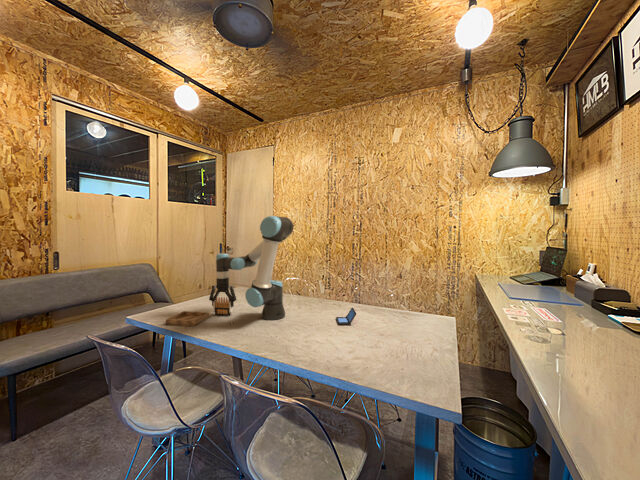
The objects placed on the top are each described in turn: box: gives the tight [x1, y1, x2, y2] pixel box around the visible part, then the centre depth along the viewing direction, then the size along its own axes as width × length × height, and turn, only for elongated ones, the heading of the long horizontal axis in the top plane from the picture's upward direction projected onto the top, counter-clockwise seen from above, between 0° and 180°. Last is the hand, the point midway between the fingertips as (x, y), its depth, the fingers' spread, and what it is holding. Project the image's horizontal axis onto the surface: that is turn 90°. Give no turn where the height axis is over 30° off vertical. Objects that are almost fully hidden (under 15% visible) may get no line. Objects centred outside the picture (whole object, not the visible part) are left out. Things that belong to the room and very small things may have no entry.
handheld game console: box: [335, 307, 357, 327], centre depth 157 cm, size 12×11×7 cm
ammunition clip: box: [214, 296, 232, 317], centre depth 167 cm, size 11×2×12 cm, turn 82°
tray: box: [165, 310, 211, 327], centre depth 157 cm, size 18×16×3 cm
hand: (222, 311), depth 167 cm, fingers closed on ammunition clip, 10 cm apart
